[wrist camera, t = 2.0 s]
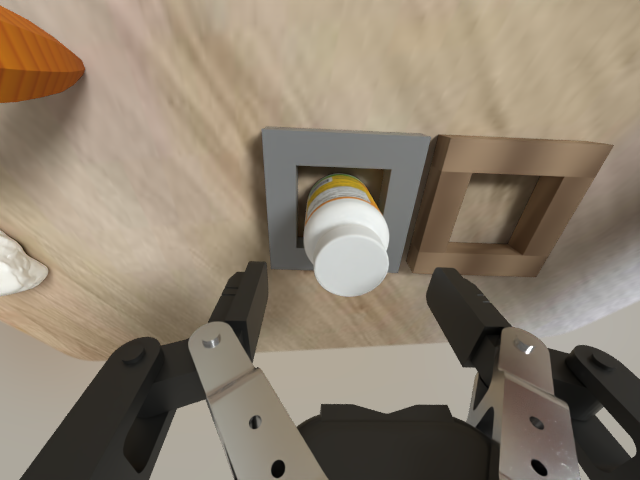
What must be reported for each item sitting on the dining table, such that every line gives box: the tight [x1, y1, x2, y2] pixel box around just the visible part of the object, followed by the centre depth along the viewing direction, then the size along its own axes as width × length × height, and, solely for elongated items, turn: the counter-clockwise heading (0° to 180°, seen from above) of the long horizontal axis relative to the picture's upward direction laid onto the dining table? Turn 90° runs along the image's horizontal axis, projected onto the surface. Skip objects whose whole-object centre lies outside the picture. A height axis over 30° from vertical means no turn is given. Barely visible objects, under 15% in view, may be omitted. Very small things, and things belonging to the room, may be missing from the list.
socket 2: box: [406, 135, 614, 277], centre depth 21 cm, size 12×12×2 cm
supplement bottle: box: [304, 173, 389, 297], centre depth 17 cm, size 5×5×10 cm
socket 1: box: [262, 127, 431, 273], centre depth 20 cm, size 12×12×2 cm
